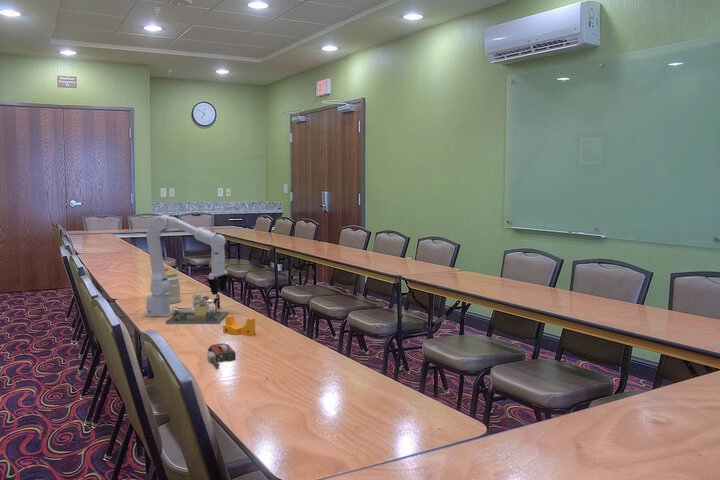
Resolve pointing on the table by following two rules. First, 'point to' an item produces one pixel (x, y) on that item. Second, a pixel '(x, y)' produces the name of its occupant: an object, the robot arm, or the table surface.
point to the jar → (173, 285)
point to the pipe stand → (196, 315)
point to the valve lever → (204, 300)
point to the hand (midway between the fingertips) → (218, 292)
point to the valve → (198, 298)
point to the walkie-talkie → (220, 353)
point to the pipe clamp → (235, 329)
